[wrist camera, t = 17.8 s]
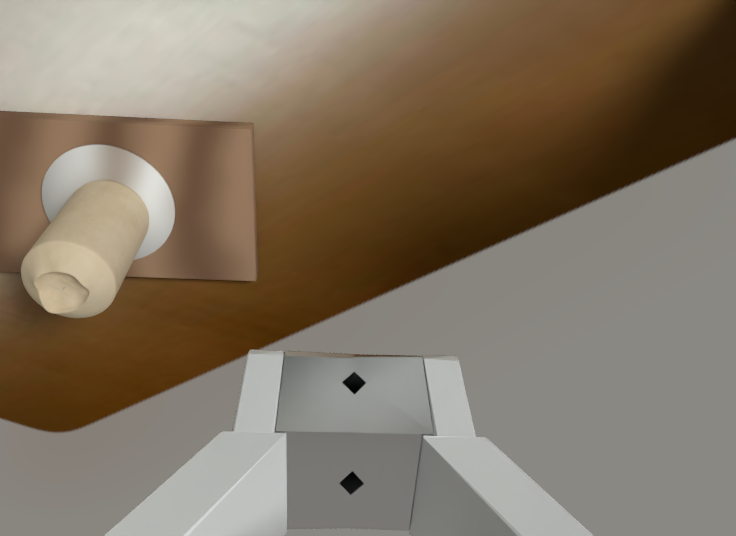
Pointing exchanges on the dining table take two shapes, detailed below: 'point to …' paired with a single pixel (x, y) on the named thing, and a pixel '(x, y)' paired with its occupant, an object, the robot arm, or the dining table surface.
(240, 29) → the dining table surface
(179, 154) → the board
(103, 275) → the candle
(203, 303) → the dining table surface
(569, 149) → the dining table surface
